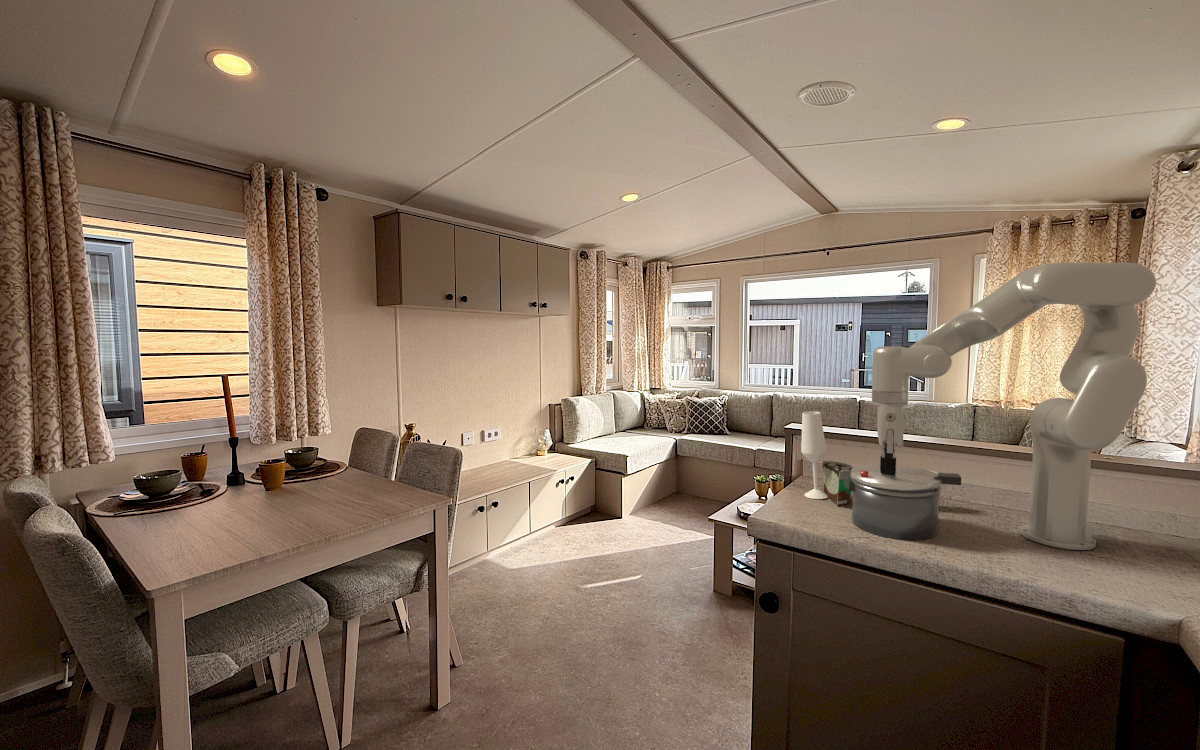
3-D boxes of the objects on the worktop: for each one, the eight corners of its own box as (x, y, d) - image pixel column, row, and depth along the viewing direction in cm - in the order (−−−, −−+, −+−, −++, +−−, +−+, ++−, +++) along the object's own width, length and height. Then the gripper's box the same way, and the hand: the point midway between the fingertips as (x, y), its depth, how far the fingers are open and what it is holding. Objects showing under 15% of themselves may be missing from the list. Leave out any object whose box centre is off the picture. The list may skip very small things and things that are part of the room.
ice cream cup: (863, 508, 136) (864, 471, 135) (839, 508, 136) (840, 472, 135) (842, 494, 148) (843, 460, 147) (821, 494, 148) (822, 460, 147)
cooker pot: (933, 518, 128) (934, 475, 127) (945, 546, 111) (947, 497, 110) (848, 508, 136) (849, 467, 135) (848, 532, 119) (849, 487, 119)
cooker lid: (952, 472, 125) (952, 463, 125) (968, 495, 108) (968, 484, 108) (850, 466, 135) (850, 458, 135) (850, 486, 118) (850, 476, 118)
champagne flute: (825, 490, 149) (820, 410, 147) (832, 498, 143) (827, 414, 141) (801, 492, 150) (796, 411, 148) (807, 499, 144) (801, 415, 142)
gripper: (911, 402, 113) (908, 483, 115) (904, 395, 127) (903, 467, 128) (873, 401, 117) (871, 479, 118) (870, 394, 130) (869, 464, 131)
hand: (887, 473), depth 123 cm, fingers closed
